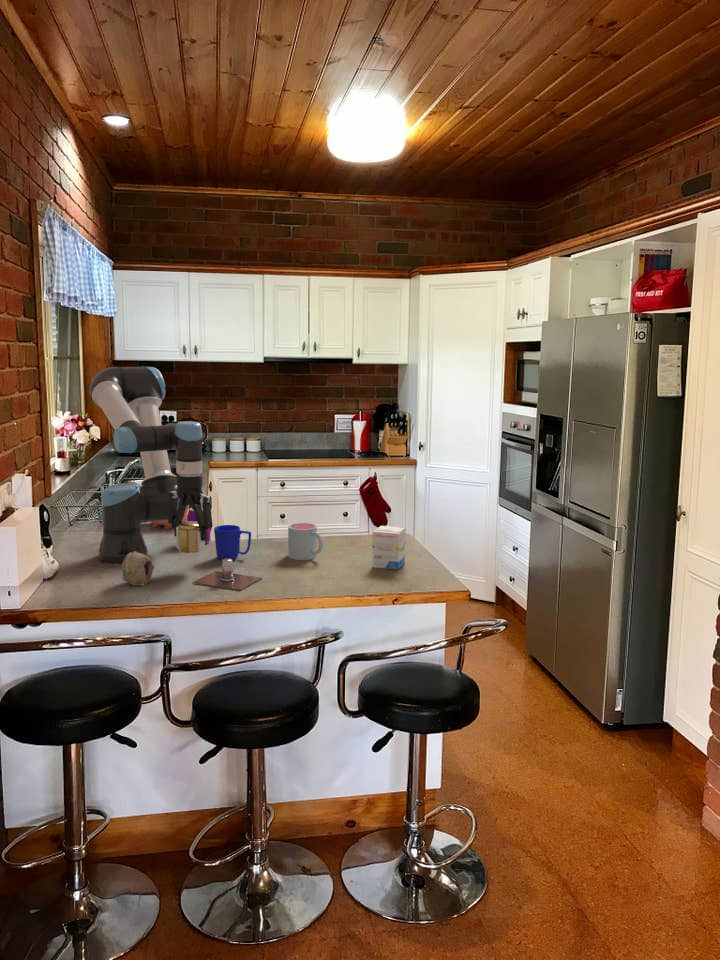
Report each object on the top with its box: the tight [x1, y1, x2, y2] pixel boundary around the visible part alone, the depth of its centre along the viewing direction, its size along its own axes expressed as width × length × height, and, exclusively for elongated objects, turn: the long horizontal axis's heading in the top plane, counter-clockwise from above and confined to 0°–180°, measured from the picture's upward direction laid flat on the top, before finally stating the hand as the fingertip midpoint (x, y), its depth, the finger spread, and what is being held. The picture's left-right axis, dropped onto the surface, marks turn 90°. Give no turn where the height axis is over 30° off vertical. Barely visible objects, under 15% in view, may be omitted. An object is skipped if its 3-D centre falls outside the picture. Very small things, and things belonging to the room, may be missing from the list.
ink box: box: [371, 525, 406, 571], centre depth 240 cm, size 9×8×12 cm
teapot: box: [150, 505, 190, 530], centre depth 287 cm, size 16×17×14 cm
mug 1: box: [213, 524, 252, 561], centre depth 245 cm, size 8×12×10 cm
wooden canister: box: [178, 521, 199, 554], centre depth 231 cm, size 7×9×8 cm
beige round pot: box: [121, 551, 155, 586], centre depth 220 cm, size 9×8×10 cm
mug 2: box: [287, 522, 324, 561], centre depth 247 cm, size 14×9×10 cm
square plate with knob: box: [192, 559, 263, 592], centre depth 222 cm, size 16×12×6 cm
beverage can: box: [186, 506, 211, 544], centre depth 264 cm, size 8×8×12 cm
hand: (190, 548), depth 232 cm, fingers closed on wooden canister, 7 cm apart
